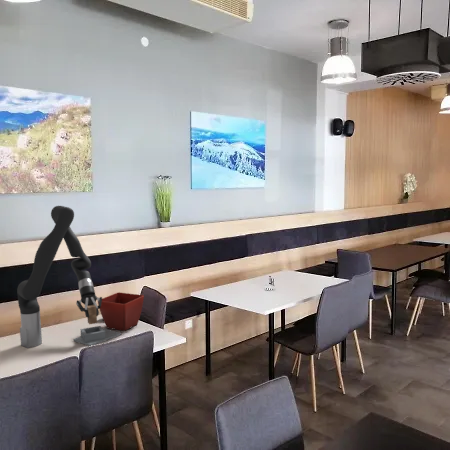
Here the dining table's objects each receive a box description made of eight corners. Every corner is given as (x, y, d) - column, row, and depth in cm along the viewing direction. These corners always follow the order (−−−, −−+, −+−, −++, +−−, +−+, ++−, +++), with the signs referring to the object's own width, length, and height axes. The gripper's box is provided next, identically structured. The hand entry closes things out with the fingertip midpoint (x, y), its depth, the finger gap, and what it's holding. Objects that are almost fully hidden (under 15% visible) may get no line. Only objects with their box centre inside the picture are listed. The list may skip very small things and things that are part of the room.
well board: (90, 346, 228) (89, 336, 228) (73, 340, 237) (73, 331, 236) (121, 334, 244) (120, 325, 244) (104, 329, 253) (103, 321, 252)
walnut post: (89, 324, 235) (88, 307, 234) (87, 322, 238) (86, 305, 237) (97, 323, 236) (96, 306, 235) (95, 321, 240) (94, 304, 239)
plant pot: (125, 333, 246) (124, 303, 244) (98, 329, 254) (96, 300, 252) (145, 323, 263) (144, 295, 261) (119, 319, 271) (118, 292, 269)
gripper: (73, 286, 238) (79, 315, 229) (100, 283, 245) (107, 310, 236) (72, 294, 244) (78, 322, 234) (99, 290, 250) (105, 317, 241)
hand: (92, 316), depth 235 cm, fingers closed on walnut post, 4 cm apart
